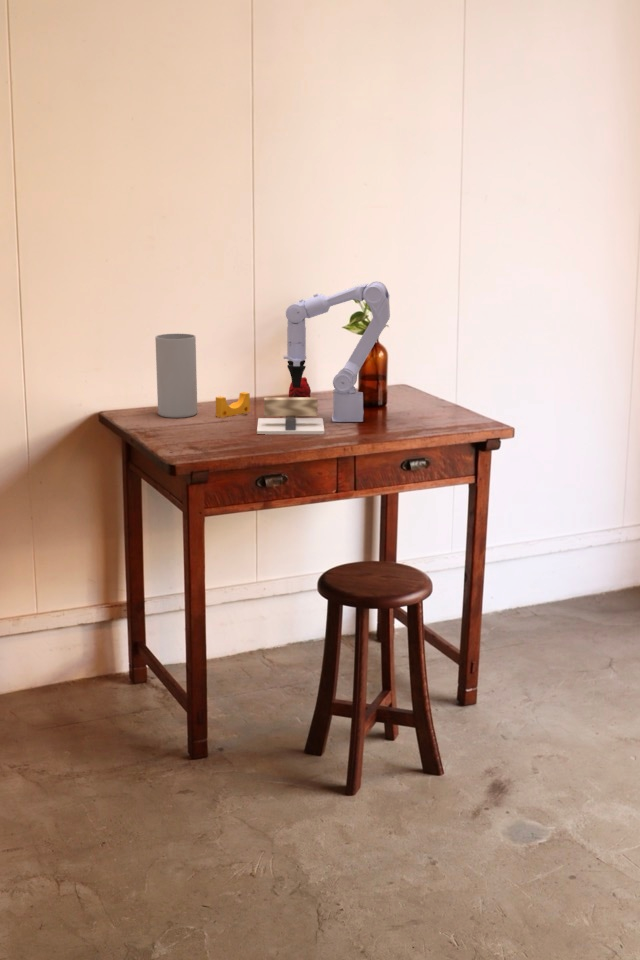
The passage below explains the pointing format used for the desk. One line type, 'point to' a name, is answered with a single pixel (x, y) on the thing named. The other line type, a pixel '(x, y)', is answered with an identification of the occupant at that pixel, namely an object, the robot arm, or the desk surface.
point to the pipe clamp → (233, 405)
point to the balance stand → (290, 425)
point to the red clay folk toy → (300, 389)
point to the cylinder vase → (176, 375)
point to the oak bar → (291, 406)
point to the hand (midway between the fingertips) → (296, 385)
